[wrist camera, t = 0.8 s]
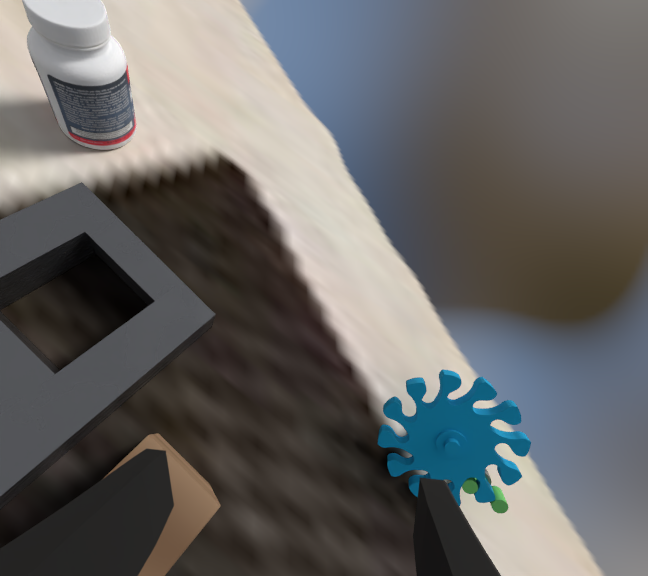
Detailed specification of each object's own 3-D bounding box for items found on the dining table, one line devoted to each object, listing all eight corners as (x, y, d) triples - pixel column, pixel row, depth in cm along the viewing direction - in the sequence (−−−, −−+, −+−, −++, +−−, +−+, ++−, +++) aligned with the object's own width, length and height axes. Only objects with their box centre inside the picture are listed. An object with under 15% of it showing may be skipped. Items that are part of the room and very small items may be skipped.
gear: (350, 418, 24) (483, 351, 21) (357, 381, 29) (463, 326, 27) (433, 546, 24) (573, 496, 21) (424, 486, 30) (535, 440, 27)
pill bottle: (151, 136, 28) (140, 26, 20) (90, 162, 25) (50, 46, 18) (107, 91, 28) (79, -36, 20) (41, 112, 25) (-19, -26, 18)
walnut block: (146, 557, 18) (129, 618, 12) (89, 500, 18) (44, 534, 12) (209, 483, 21) (220, 506, 15) (158, 433, 21) (148, 434, 15)
